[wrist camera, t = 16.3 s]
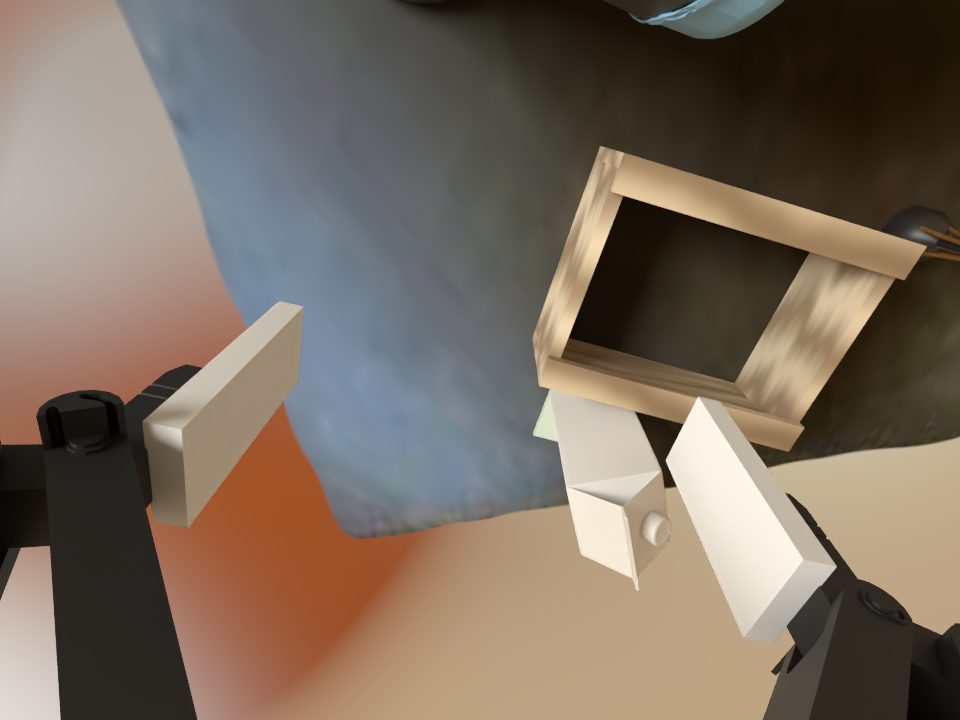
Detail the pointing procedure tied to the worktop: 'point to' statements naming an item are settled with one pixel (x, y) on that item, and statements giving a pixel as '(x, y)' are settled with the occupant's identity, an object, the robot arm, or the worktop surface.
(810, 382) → the crate
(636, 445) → the milk carton
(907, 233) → the wooden tabletop sculpture
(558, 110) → the worktop surface
